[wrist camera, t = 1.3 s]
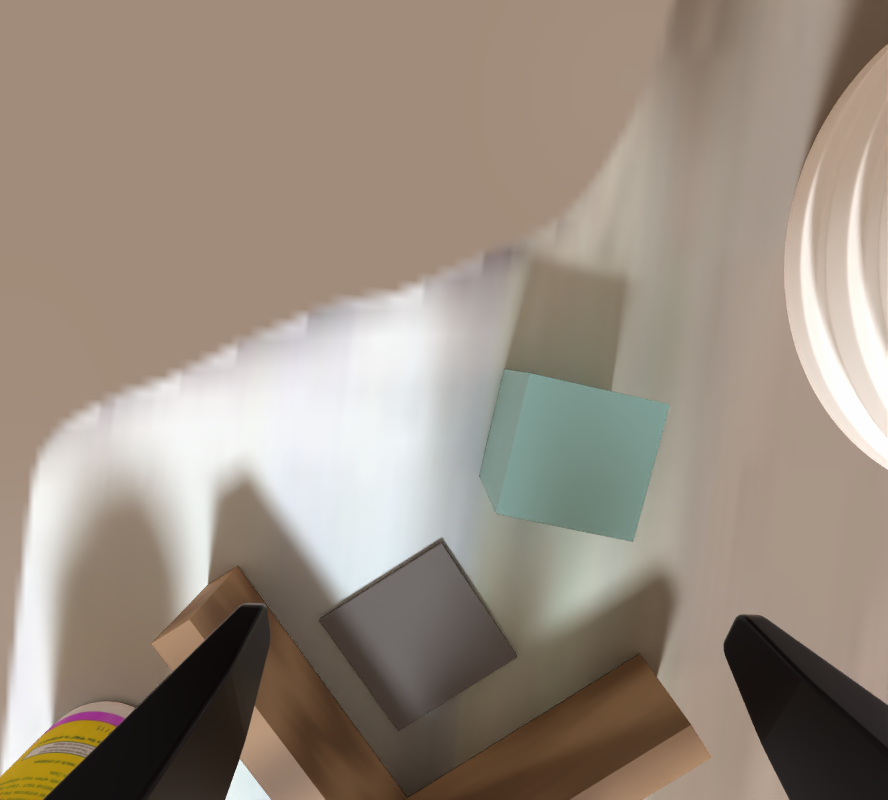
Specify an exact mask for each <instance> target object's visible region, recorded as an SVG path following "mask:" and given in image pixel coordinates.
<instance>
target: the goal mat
mask: <svg viewBox="0 0 888 800" xmlns="http://www.w3.org/2000/svg"><path fill="white" fill-rule="evenodd" d="M319 621H320V622H321V624H322V625H323V626H324V628H325V629H326V630H327V632H328V633H329V635H330V636H331V637H332V639H333V640H334V642H335V643H336V644H337V646H338V647H339V649H340V650H341V651H342V653H343V654H344V656H345V657H346V658H347V660H348V661H349V663H350V664H351V665H352V667H353V668H354V670H355V671H356V672H357V674H358V675H359V676H360V678H361V679H362V681H363V682H364V683H365V685H366V686H367V688H368V689H369V690H370V692H371V693H372V695H373V696H374V697H375V699H376V700H377V702H378V703H379V704H380V706H381V707H382V709H383V710H384V711H385V713H386V714H387V715H388V717H389V718H390V720H391V721H392V722H393V724H394V725H395V727H396V728H397V729H398V731H399V730H401V729H402V728H404V727H406V726H407V725H409V724H410V723H412V722H414V721H415V720H417V719H418V718H420V717H422V716H423V715H425V714H426V713H428V712H430V711H431V710H433V709H434V708H436V707H438V706H439V705H441V704H442V703H444V702H446V701H447V700H449V699H450V698H452V697H454V696H455V695H457V694H458V693H460V692H462V691H463V690H465V689H466V688H468V687H470V686H471V685H473V684H475V683H476V682H478V681H479V680H481V679H483V678H484V677H486V676H487V675H489V674H491V673H492V672H494V671H495V670H497V669H499V668H500V667H502V666H503V665H505V664H507V663H508V662H510V661H511V660H513V659H515V658H516V657H517V655H516V653H515V652H514V650H513V649H512V647H511V646H510V644H509V643H508V641H507V640H506V638H505V637H504V635H503V634H502V632H501V631H500V629H499V628H498V626H497V625H496V623H495V622H494V620H493V619H492V617H491V616H490V614H489V613H488V611H487V610H486V608H485V607H484V605H483V604H482V602H481V601H480V599H479V598H478V596H477V595H476V593H475V592H474V590H473V589H472V587H471V586H470V584H469V583H468V581H467V580H466V578H465V577H464V575H463V574H462V572H461V571H460V569H459V568H458V566H457V565H456V563H455V562H454V560H453V559H452V557H451V556H450V554H449V553H448V551H447V550H446V548H445V547H444V545H443V544H442V542H441V543H439V544H437V545H436V546H434V547H433V548H431V549H430V550H428V551H426V552H425V553H423V554H422V555H420V556H418V557H417V558H415V559H414V560H412V561H411V562H409V563H407V564H406V565H404V566H403V567H401V568H399V569H398V570H396V571H395V572H393V573H392V574H390V575H388V576H387V577H385V578H384V579H382V580H380V581H379V582H377V583H376V584H374V585H373V586H371V587H369V588H368V589H366V590H365V591H363V592H361V593H360V594H358V595H357V596H355V597H354V598H352V599H350V600H349V601H347V602H346V603H344V604H342V605H341V606H339V607H338V608H336V609H335V610H333V611H331V612H330V613H328V614H327V615H325V616H323V617H322V618H320V620H319Z"/></svg>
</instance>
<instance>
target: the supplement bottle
mask: <svg viewBox="0 0 888 800" xmlns="http://www.w3.org/2000/svg"><path fill="white" fill-rule="evenodd" d="M134 709H135V707H132V706H130V705H127V704H123V703H119V702H110V701H103V702H94V703H90V704H86V705H83V706H80V707H78V708H76V709H74V710H72V711H70V712H68V713H67V714H65V715H64V716H63V717H61V718H60V719H59V720H58V721H57V722H56V723H55V724H54V725H52V726H51V727H50V728H49V729H48V730H47V731H46V732H45V733H44V734H43V735H42V736H41V737H40V738H39V739H38V740H37V741H36V742H35V743H34V744H33V745H32V746H31V747H30V748H29V749H28V750H27V751H26V752H25V753H24V754H23V755H22V756H21V757H20V758H19V759H18V760H17V761H16V762H15V763H14V764H13V765H12V766H11V767H10V768H9V769H8V770H7V771H6V772H5V773H4V774H3V775H2V776H1V777H0V800H43V799H44V798H45V797H46V796H47V795H48V794H49V793H50V792H51V791H52V790H53V789H54V788H55V787H56V786H57V785H58V784H59V783H60V782H61V781H62V780H63V779H64V778H65V777H66V776H67V775H68V774H69V773H70V772H71V771H72V770H73V769H74V768H75V767H76V766H77V765H78V764H79V763H80V762H81V761H82V760H83V759H85V758H86V757H87V756H88V755H89V754H90V753H91V752H92V751H93V750H94V749H95V748H96V747H97V746H98V745H99V744H100V743H101V742H102V741H103V740H104V739H105V738H106V737H107V736H108V735H109V734H110V733H111V732H112V731H113V730H114V729H115V728H116V727H117V726H118V725H119V724H120V723H121V722H122V721H123V720H124V719H125V718H126V717H127V716H128V715H129V714H130V713H131V712H132V711H133V710H134Z"/></svg>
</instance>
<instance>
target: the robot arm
mask: <svg viewBox="0 0 888 800" xmlns="http://www.w3.org/2000/svg"><path fill="white" fill-rule="evenodd" d="M270 639H271V633H270V626H269V618H268V611H267V607H266V605H265V604H262V603H244V604H242V605H240V606H239V607H238V608H237V609H236V610H235V611H234V612H233V613H232V614H231V615H230V616H229V617H228V618H227V619H226V620H225V621H224V622H223V623H222V624H221V625H220V626H219V627H218V628H217V629H216V630H215V631H214V632H212V633H211V634H210V635H209V636H208V637H207V638H206V639H205V640H204V641H203V642H202V643H201V644H200V645H199V646H198V647H197V648H196V649H195V650H194V651H193V652H192V653H191V654H190V655H189V656H188V657H187V658H186V659H185V660H184V661H183V662H182V663H181V664H180V665H179V666H178V667H177V668H176V669H175V670H174V671H173V672H172V673H171V674H170V675H169V676H168V677H167V678H166V679H165V680H164V681H163V682H162V683H161V684H160V685H159V686H158V687H157V688H156V689H155V690H154V691H153V692H152V693H151V694H150V695H149V696H147V697H146V698H145V699H144V700H143V701H142V702H141V703H140V704H139V705H138V706H137V707H136V708H135V709H134V710H133V711H132V712H131V713H130V714H129V715H128V716H127V717H126V718H125V719H124V720H123V721H122V722H121V723H120V724H119V725H118V726H117V727H116V728H115V729H114V730H113V731H112V732H111V733H110V734H109V735H108V736H107V737H106V738H105V739H104V740H103V741H102V742H101V743H100V744H99V745H98V746H97V747H96V748H95V749H94V750H93V751H92V752H91V753H90V754H89V755H88V756H87V757H86V758H85V759H83V760H82V761H81V762H80V763H79V764H78V765H77V766H76V767H75V768H74V769H73V770H72V771H71V772H70V773H69V774H68V775H67V776H66V777H65V778H64V779H63V780H62V781H61V782H60V783H59V784H58V785H57V786H56V787H55V788H54V789H53V790H52V791H51V792H50V793H49V794H48V795H47V796H46V797H45V798H44V799H43V800H225V798H226V796H227V793H228V790H229V787H230V784H231V781H232V779H233V776H234V773H235V770H236V767H237V765H238V762H239V759H240V756H241V753H242V750H243V747H244V744H245V741H246V737H247V733H248V730H249V726H250V722H251V718H252V714H253V710H254V706H255V702H256V698H257V694H258V690H259V686H260V682H261V678H262V674H263V670H264V666H265V662H266V658H267V654H268V650H269V646H270ZM724 653H725V656H726V659H727V662H728V664H729V666H730V669H731V671H732V674H733V676H734V679H735V681H736V684H737V686H738V688H739V691H740V693H741V696H742V698H743V701H744V703H745V706H746V708H747V710H748V713H749V715H750V718H751V720H752V723H753V725H754V727H755V730H756V732H757V734H758V737H759V739H760V741H761V744H762V746H763V748H764V750H765V752H766V754H767V756H768V758H769V760H770V762H771V764H772V766H773V768H774V770H775V772H776V774H777V776H778V778H779V780H780V782H781V784H782V786H783V788H784V790H785V792H786V794H787V796H788V798H789V800H888V705H887V704H886V703H884V702H883V701H881V700H880V699H879V698H877V697H876V696H874V695H873V694H872V693H870V692H869V691H867V690H866V689H865V688H863V687H862V686H860V685H859V684H858V683H856V682H855V681H853V680H852V679H851V678H849V677H848V676H846V675H845V674H843V673H842V672H841V671H839V670H838V669H836V668H835V667H834V666H832V665H831V664H829V663H828V662H827V661H825V660H824V659H822V658H821V657H820V656H818V655H817V654H815V653H814V652H813V651H811V650H810V649H808V648H807V647H806V646H804V645H803V644H801V643H800V642H799V641H797V640H796V639H794V638H793V637H792V636H790V635H789V634H787V633H786V632H785V631H783V630H782V629H780V628H779V627H778V626H776V625H775V624H773V623H772V622H771V621H769V620H768V619H766V618H765V617H763V616H760V615H739V616H737V617H736V619H735V620H734V622H733V624H732V626H731V628H730V631H729V633H728V635H727V637H726V639H725V641H724Z"/></svg>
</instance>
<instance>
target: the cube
mask: <svg viewBox="0 0 888 800" xmlns="http://www.w3.org/2000/svg"><path fill="white" fill-rule="evenodd" d="M669 406H670V404H666V403H661V402H657V401H652V400H648V399H643V398H639V397H634V396H630V395H625V394H621V393H617V392H612V391H608V390H603V389H599V388H594V387H590V386H585V385H581V384H577V383H572V382H568V381H563V380H559V379H554V378H550V377H545V376H541V375H537V374H532V373H527V372H520V371H514V370H507V369H504V373H503V377H502V381H501V385H500V390H499V394H498V398H497V402H496V407H495V411H494V415H493V420H492V424H491V428H490V432H489V437H488V441H487V445H486V449H485V454H484V458H483V462H482V467H481V471H480V475H479V476H480V479H481V481H482V483H483V485H484V488H485V490H486V492H487V494H488V497H489V499H490V501H491V503H492V506H493V508H494V510H495V512H496V514H499V515H504V516H509V517H514V518H519V519H524V520H529V521H534V522H539V523H544V524H548V525H553V526H558V527H563V528H568V529H573V530H578V531H583V532H588V533H592V534H597V535H602V536H607V537H612V538H617V539H622V540H627V541H632V542H633V540H634V536H635V532H636V529H637V525H638V521H639V518H640V514H641V510H642V506H643V503H644V499H645V495H646V492H647V488H648V484H649V480H650V477H651V473H652V469H653V465H654V462H655V458H656V454H657V451H658V447H659V443H660V439H661V436H662V432H663V428H664V425H665V421H666V417H667V413H668V410H669Z"/></svg>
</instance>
